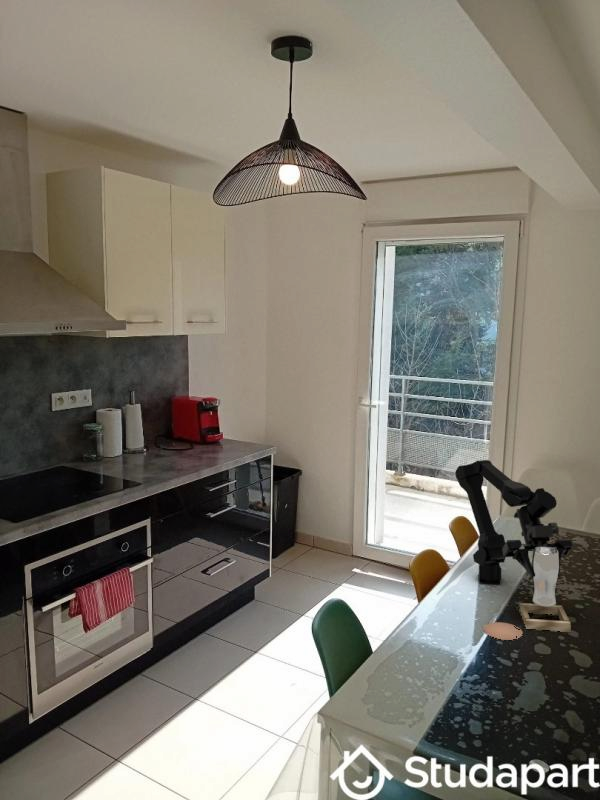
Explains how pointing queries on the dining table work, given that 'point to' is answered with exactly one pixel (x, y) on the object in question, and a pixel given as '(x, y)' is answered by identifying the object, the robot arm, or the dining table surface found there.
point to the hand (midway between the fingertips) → (545, 576)
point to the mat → (502, 631)
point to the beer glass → (545, 575)
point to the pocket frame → (550, 625)
